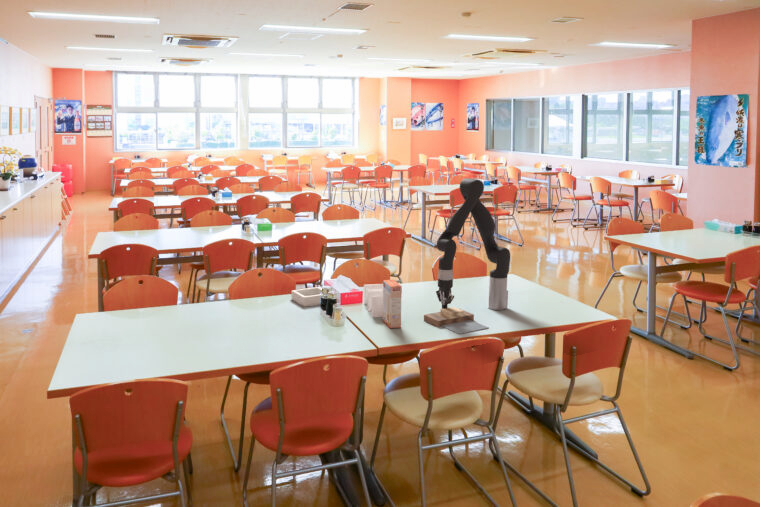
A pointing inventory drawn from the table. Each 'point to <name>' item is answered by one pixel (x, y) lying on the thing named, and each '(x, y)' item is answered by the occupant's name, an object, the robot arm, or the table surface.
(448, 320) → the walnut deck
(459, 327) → the rubber mat
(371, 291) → the storage container
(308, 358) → the table surface
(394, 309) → the cracker box
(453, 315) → the maple tile
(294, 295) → the holder corral
